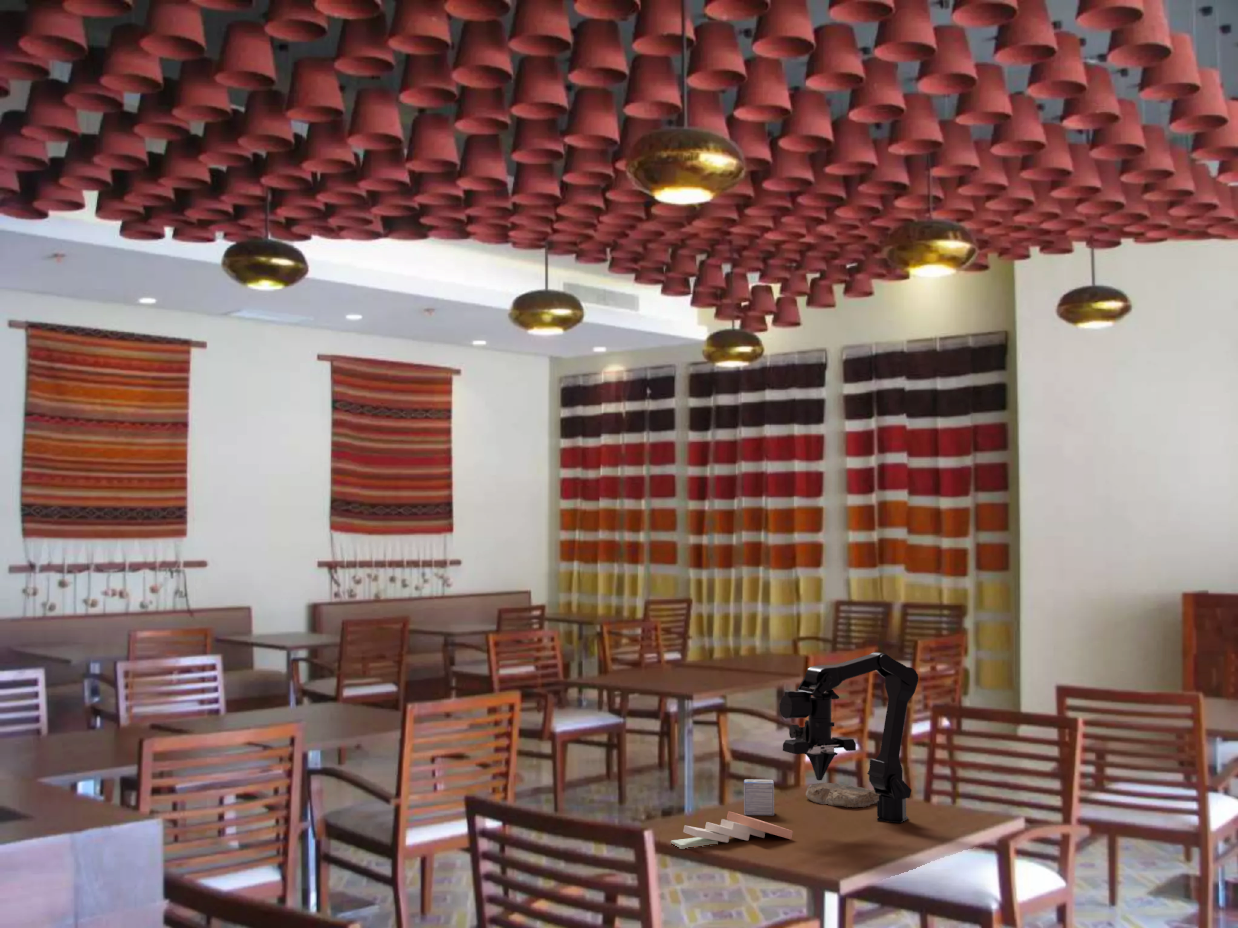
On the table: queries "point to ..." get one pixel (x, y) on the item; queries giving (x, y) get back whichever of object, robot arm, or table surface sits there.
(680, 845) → the sage domino
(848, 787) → the flat grey rock
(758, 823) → the terracotta tile
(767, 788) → the medicine box
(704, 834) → the ivory domino
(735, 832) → the ivory domino
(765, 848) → the table surface
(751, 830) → the ivory domino
